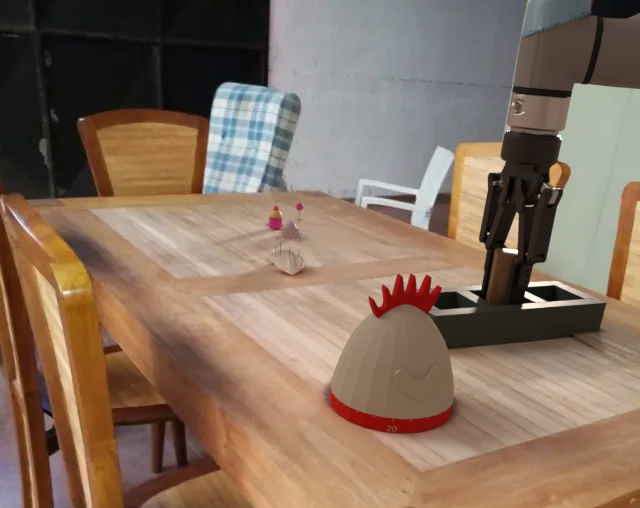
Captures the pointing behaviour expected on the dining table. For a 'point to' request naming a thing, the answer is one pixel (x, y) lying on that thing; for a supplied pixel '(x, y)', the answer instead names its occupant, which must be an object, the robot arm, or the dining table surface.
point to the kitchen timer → (396, 365)
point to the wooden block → (500, 275)
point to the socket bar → (514, 315)
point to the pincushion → (287, 260)
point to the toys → (288, 226)
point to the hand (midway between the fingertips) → (500, 300)
